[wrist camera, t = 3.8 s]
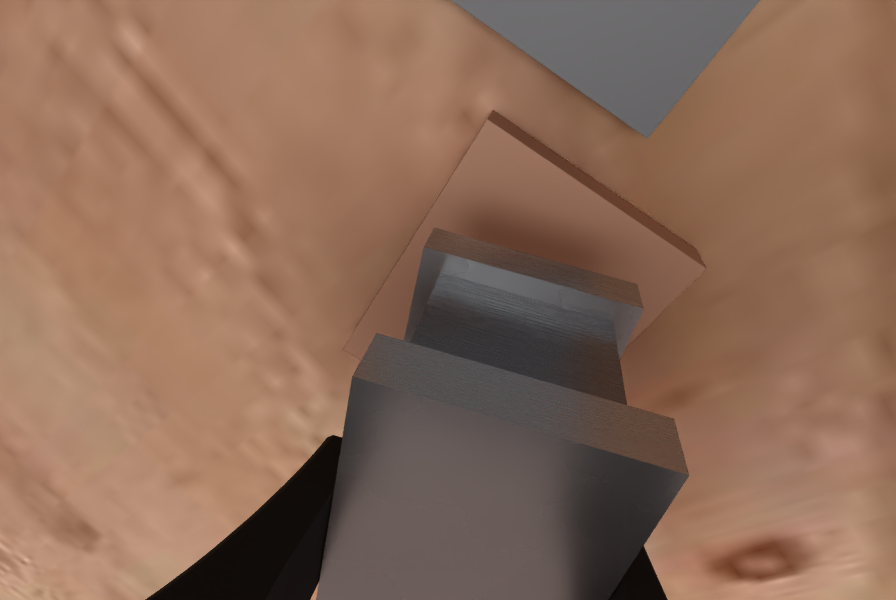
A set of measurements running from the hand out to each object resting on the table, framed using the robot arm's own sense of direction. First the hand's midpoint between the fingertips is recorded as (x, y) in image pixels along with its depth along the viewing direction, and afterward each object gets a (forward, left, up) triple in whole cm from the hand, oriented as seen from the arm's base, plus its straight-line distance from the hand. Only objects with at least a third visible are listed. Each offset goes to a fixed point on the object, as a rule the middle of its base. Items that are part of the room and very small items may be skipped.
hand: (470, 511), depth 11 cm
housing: (0, -1, -4) cm, 4 cm away
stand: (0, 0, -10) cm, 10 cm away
